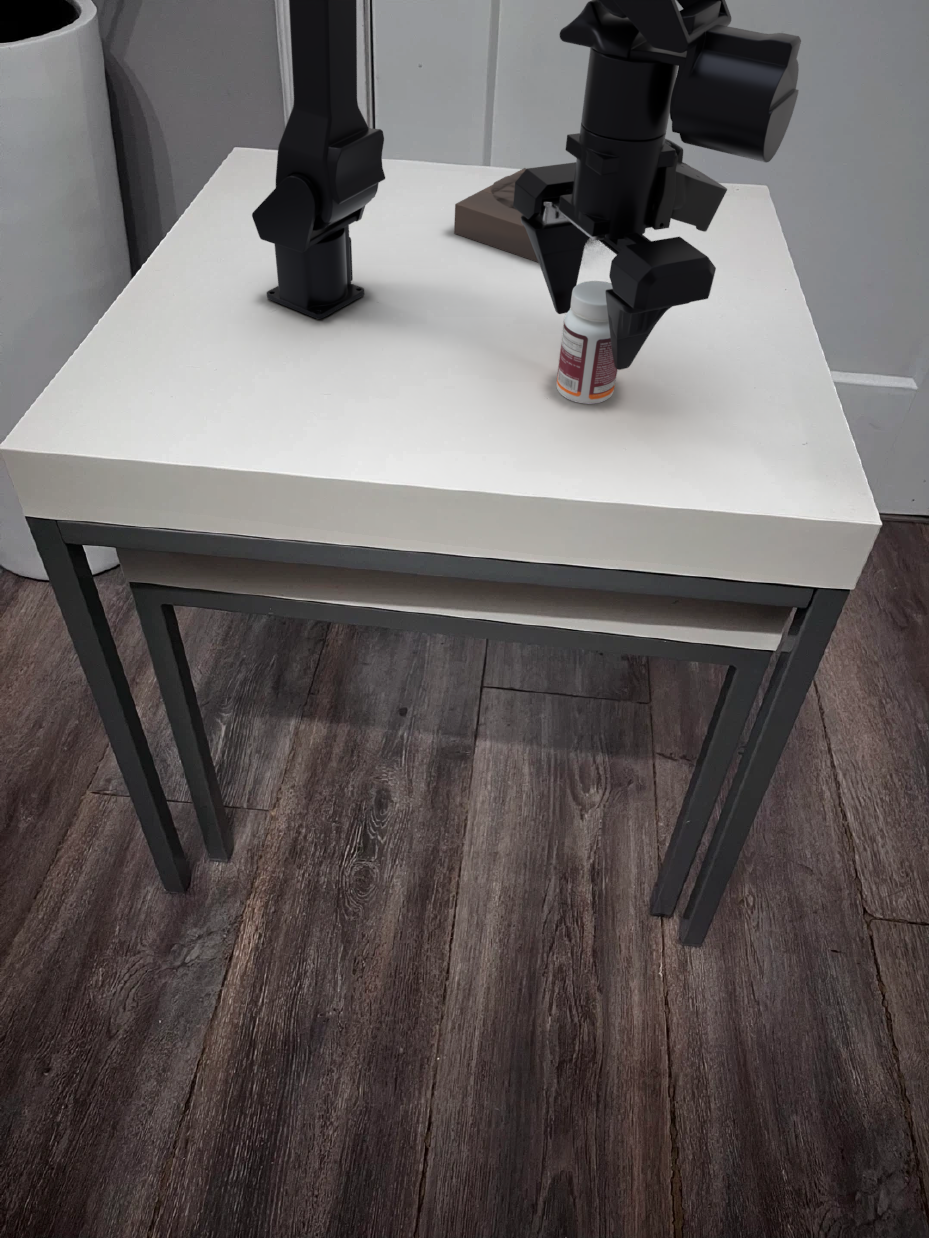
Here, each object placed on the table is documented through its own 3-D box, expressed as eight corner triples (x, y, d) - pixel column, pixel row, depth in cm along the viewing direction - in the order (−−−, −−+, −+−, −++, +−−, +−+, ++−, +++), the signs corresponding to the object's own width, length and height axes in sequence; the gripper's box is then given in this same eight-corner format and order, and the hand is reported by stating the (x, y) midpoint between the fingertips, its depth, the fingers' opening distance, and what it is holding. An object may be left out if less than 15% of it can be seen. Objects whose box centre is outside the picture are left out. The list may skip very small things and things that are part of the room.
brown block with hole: (546, 265, 95) (550, 235, 93) (452, 233, 99) (453, 203, 97) (616, 220, 103) (620, 191, 101) (526, 192, 108) (528, 164, 105)
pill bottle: (613, 377, 80) (629, 280, 74) (613, 408, 77) (631, 309, 71) (556, 371, 81) (568, 275, 75) (554, 402, 77) (567, 304, 71)
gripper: (808, 162, 61) (746, 379, 72) (649, 75, 73) (616, 273, 84) (661, 183, 58) (619, 408, 69) (518, 87, 70) (502, 293, 81)
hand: (591, 339), depth 76 cm, fingers open, 9 cm apart
